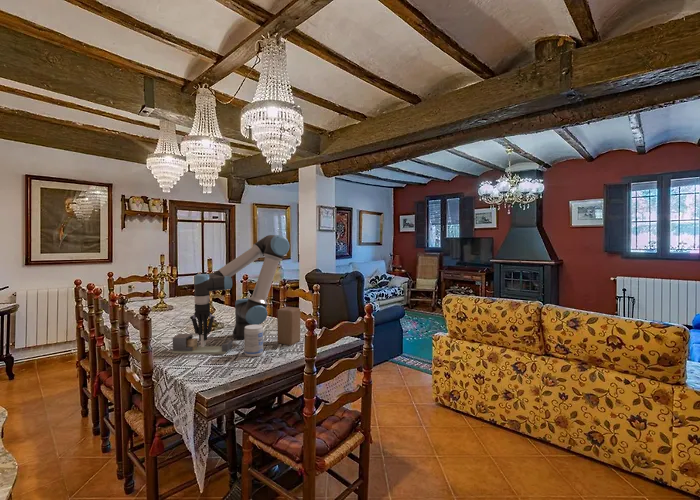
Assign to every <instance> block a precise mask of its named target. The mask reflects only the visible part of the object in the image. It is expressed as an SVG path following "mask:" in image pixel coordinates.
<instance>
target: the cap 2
mask: <svg viewBox="0 0 700 500" xmlns="http://www.w3.org/2000/svg"><path fill="white" fill-rule="evenodd" d="M221 346H222V352H227V353H228V352H229V351H230V350H231V349H232V348H233V339H226V340H225V343H221Z"/></svg>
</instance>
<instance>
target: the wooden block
mask: <svg viewBox="0 0 700 500" xmlns="http://www.w3.org/2000/svg"><path fill="white" fill-rule="evenodd" d="M276 311H277V312H276V313H277V320H276V321H277V322H276V323H277V327H276V329H277V331H276V332H277V334H276V335H277V337H276V339H277V343H278V344H279V345H280V344H281V345H287V346H293V345H295V344H297V343H299V342H300V341H301V308H300V307H293V306H285V307H282V308H278V309H277V310H276Z"/></svg>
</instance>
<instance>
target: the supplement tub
mask: <svg viewBox="0 0 700 500" xmlns="http://www.w3.org/2000/svg"><path fill="white" fill-rule="evenodd" d="M243 340H244V345H243V346H244V355H245V356H247V357H250V358H251V357H253V358H254V357H258V356H261V355H263V353H264V326H263V325H262V324H259V325H248V326H245V329H244V339H243Z"/></svg>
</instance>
